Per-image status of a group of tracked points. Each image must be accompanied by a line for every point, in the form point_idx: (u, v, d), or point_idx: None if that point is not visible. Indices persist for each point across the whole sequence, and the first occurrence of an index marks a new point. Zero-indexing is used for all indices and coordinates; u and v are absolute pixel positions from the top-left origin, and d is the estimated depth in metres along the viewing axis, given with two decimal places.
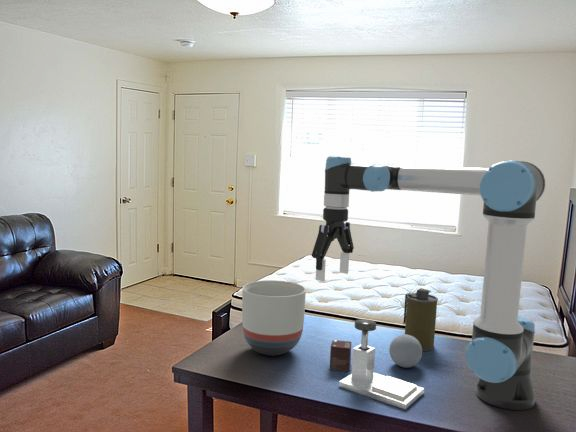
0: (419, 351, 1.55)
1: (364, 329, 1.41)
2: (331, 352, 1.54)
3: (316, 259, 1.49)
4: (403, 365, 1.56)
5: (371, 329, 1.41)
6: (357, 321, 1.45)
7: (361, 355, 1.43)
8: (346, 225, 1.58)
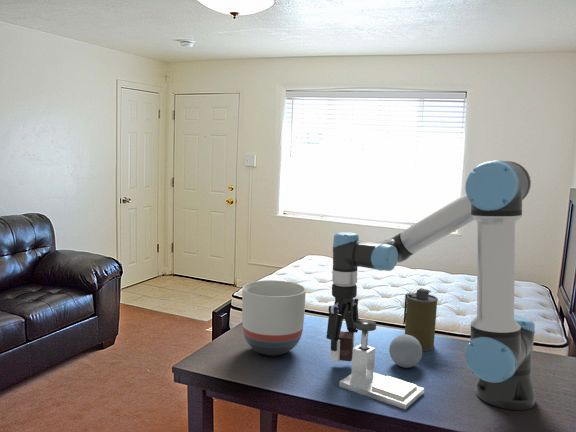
0: (419, 351, 1.55)
1: (364, 329, 1.41)
2: None
3: (331, 340, 1.52)
4: (403, 365, 1.56)
5: (371, 329, 1.41)
6: (357, 321, 1.45)
7: (361, 355, 1.43)
8: (354, 301, 1.59)
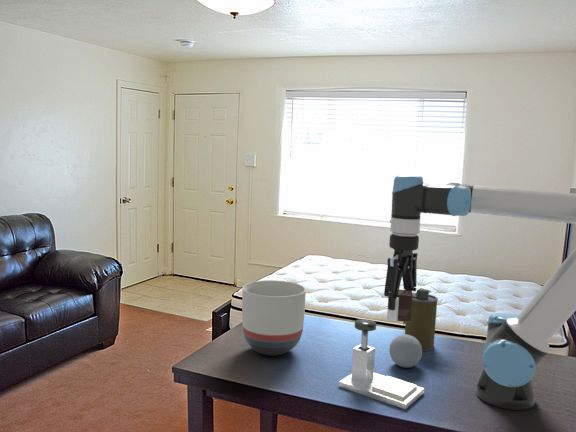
0: (419, 351, 1.55)
1: (364, 329, 1.41)
2: None
3: (388, 298, 1.32)
4: (403, 365, 1.56)
5: (371, 329, 1.41)
6: (357, 321, 1.45)
7: (361, 355, 1.43)
8: (413, 256, 1.39)
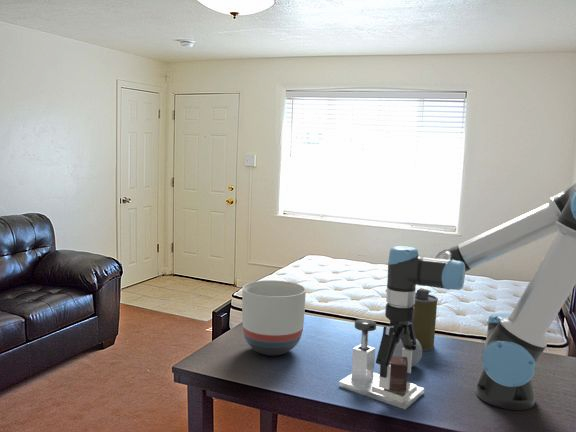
0: (419, 351, 1.55)
1: (364, 329, 1.41)
2: None
3: (380, 365, 1.32)
4: None
5: (371, 329, 1.41)
6: (357, 321, 1.45)
7: (361, 355, 1.43)
8: (409, 320, 1.42)
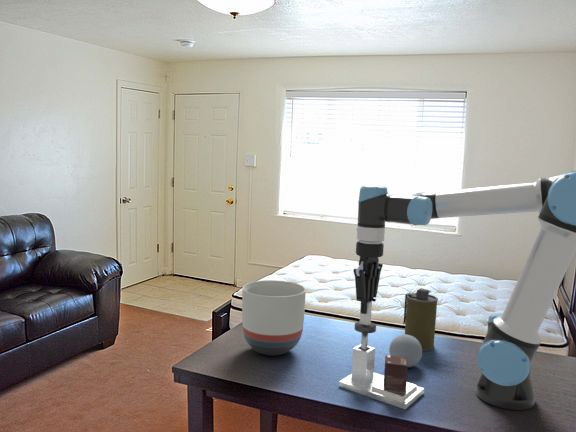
0: (419, 351, 1.55)
1: (364, 331, 1.41)
2: (386, 369, 1.37)
3: (361, 302, 1.42)
4: None
5: (371, 331, 1.41)
6: (357, 323, 1.45)
7: (361, 355, 1.43)
8: (379, 265, 1.46)
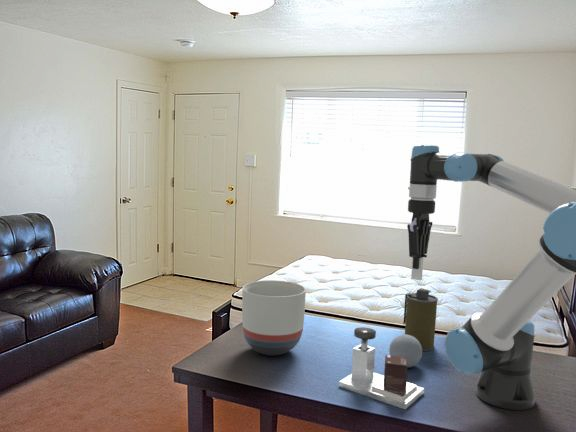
0: (419, 351, 1.55)
1: (364, 337, 1.41)
2: (386, 369, 1.37)
3: (413, 258, 1.48)
4: None
5: (371, 337, 1.42)
6: (356, 329, 1.45)
7: (361, 355, 1.43)
8: (429, 223, 1.51)
